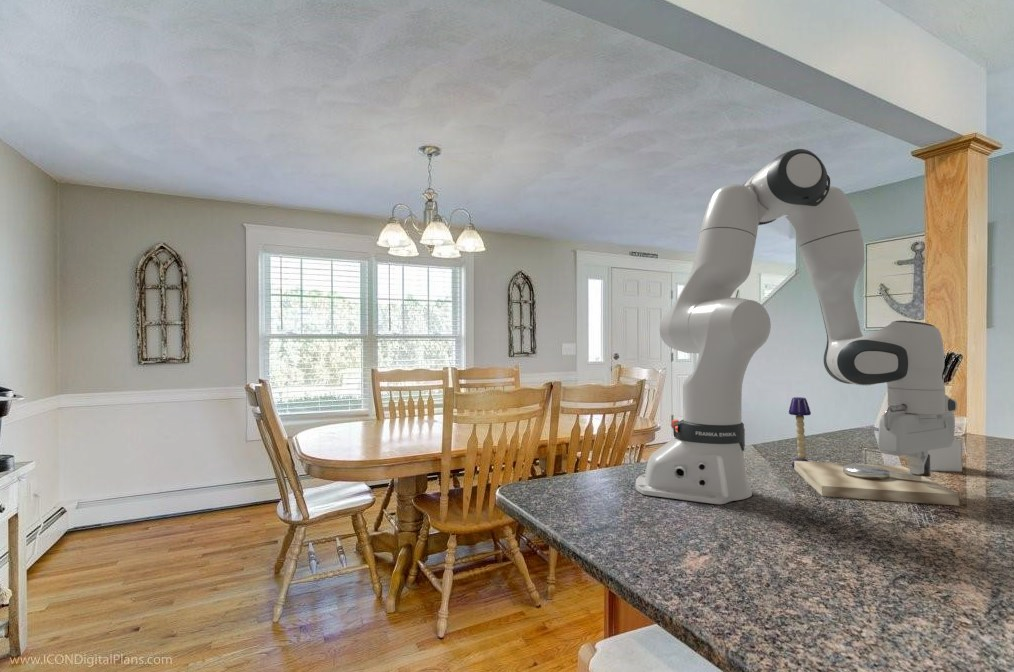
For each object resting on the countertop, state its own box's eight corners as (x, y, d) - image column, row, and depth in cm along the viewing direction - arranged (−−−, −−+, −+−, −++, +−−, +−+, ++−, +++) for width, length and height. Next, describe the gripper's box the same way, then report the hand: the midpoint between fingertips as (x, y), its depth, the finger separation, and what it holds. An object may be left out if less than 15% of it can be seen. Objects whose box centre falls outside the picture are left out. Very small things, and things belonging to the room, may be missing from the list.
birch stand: (822, 496, 99) (821, 485, 99) (794, 469, 120) (794, 460, 120) (959, 505, 92) (958, 494, 92) (904, 475, 113) (904, 466, 113)
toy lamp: (790, 467, 121) (789, 398, 121) (788, 463, 125) (787, 396, 125) (813, 469, 119) (813, 399, 119) (810, 465, 123) (809, 397, 123)
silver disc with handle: (842, 475, 105) (842, 450, 105) (843, 467, 111) (842, 444, 111) (933, 485, 97) (932, 458, 97) (927, 476, 103) (927, 451, 103)
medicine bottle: (963, 472, 115) (961, 419, 116) (927, 470, 117) (926, 419, 117) (943, 464, 122) (941, 415, 122) (909, 463, 124) (908, 414, 124)
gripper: (904, 408, 92) (906, 484, 91) (961, 401, 100) (963, 471, 100) (867, 404, 97) (868, 476, 97) (924, 398, 106) (925, 464, 106)
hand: (917, 473), depth 99 cm, fingers closed
